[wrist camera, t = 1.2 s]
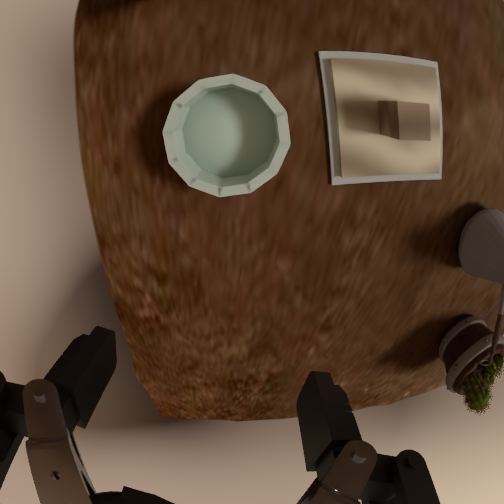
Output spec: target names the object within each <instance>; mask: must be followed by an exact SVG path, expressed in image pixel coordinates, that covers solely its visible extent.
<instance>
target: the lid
mask: <svg viewBox="0 0 504 504" xmlns="http://www.w3.org/2000/svg"><path fill="white" fill-rule="evenodd" d="M329 64H330V71H331V78H332V86H333V94H334V103H335V113H336V124H337V136H338V149H339V166H340V177H341V178H349V177H364V176H381V175H403V174H439V170H440V114H439V98H438V86H437V76H436V68H433V67H428V66H422V65H415V64H408V63H401V62H392V61H382V60H370V59H351V58H330V59H329Z"/></svg>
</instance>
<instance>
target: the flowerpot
mask: <svg viewBox="0 0 504 504" xmlns="http://www.w3.org/2000/svg"><path fill="white" fill-rule="evenodd" d="M493 334H494V332H492V331H491V330H490V329H489V328H487V327H486V324H485V322H484V320H482V319H480V318H478V317H473V316H471V317H470V316H466V317H464V318H461V319H459V320H457V321H456V322H455V323H454V324H453V325H451V326H450V327H449V329H448V330H447V331H446V332H445V334H444V335H443V337H442V340H441V343H440V347H439V355H440V360H441V361H442V362H443V363H445V368H446V372H447V376H446V385H447V389H449V390H450V391H451V392H453V393H458V394H460V395H465V396H466V398H465V400H466V401H465V403H468V404H467V405H469V406H468V407H469V408H470V409H473V410H476V412H480V411H481V413H482V410H483V411H484V409H485V406H486V407H487V406H488V405H489V404H487V403H488V401H489V398H490V397H491V396H489V395H490V394H489V392H490V390H488V389H490V387H493V386H491V384H493V383H494V375H495V374H496V375H497V373H499V371H500V372H501V368H502V366H503V362H504V360H503V358H504V337H503V336H502V335H500V337H499V341H498V343H497V346H496V349H495V352H496V353H495V355H493V361H492V363H491V365H490V366H483V365H481V364H480V363H482V364H484V365H487V364H488V361H482V360H488V359H489V356H490V354H489V351H490V350H491V346H492V338H493ZM481 361H482V362H481ZM499 374H500V373H499ZM496 375H495V376H496ZM497 377H498V376H497ZM488 407H489V406H488ZM479 410H480V411H479ZM484 412H485V411H484Z"/></svg>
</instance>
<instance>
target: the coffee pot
mask: <svg viewBox="0 0 504 504" xmlns="http://www.w3.org/2000/svg"><path fill="white" fill-rule="evenodd" d="M458 252H459V259H460V263H461V266H462V268H463V269H464V271H465V272H466V273H468V274H470V275H472V276H476V277H480V278H484V279H487V280H491V281H495V282H498V283H502V293H501V301H500V309H499V314H498V318H497V322H496V326H495V330H494V334H493V338H492V346H491V350H490V351H489V354H490V356H489V359H488V360H482V361H488V364H487V365H484V364H482V363H480V364H481V365H483V366H490V365H491V363H492V361H493V355H495V353H496V352H495V349H496V346H497V343H498V341H499V337H500V332H501V326H502V319H503V311H504V214H503V213H502V212H501V211H500V210H497V209H494V208H490V209H483V210H481V211H479V212H478V213H476V214H475V215H474V216H473V217H471V218H470V219H469V220H468V222H467V223H466V224H465V226H464V228H463V230H462V233H461V235H460V242H459V248H458ZM482 361H481V362H482Z"/></svg>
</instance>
